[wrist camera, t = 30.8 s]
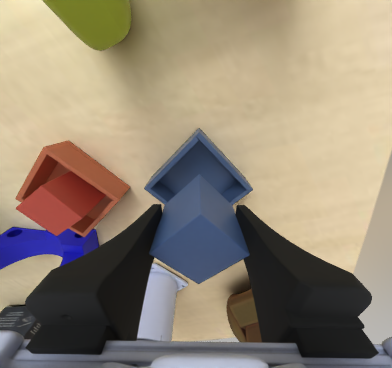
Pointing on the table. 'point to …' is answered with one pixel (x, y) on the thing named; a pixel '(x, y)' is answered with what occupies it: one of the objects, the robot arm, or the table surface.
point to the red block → (61, 202)
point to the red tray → (86, 169)
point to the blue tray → (198, 171)
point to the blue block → (199, 233)
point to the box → (19, 321)
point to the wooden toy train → (243, 317)
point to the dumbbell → (95, 20)
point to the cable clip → (44, 244)
